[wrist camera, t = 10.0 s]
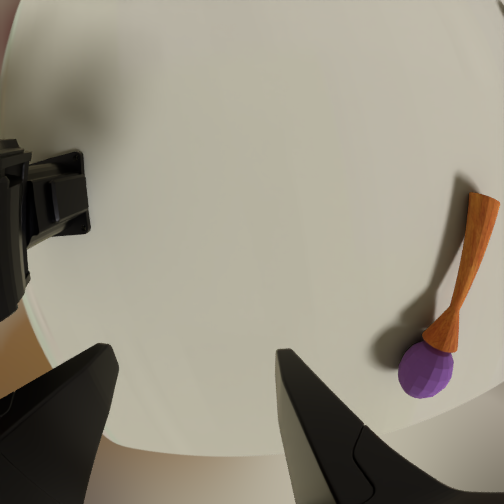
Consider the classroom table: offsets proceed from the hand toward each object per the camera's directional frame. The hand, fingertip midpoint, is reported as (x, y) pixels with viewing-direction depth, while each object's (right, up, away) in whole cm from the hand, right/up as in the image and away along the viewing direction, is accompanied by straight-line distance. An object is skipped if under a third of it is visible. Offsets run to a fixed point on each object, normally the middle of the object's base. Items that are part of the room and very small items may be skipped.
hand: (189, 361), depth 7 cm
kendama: (+20, -1, +15) cm, 25 cm away
